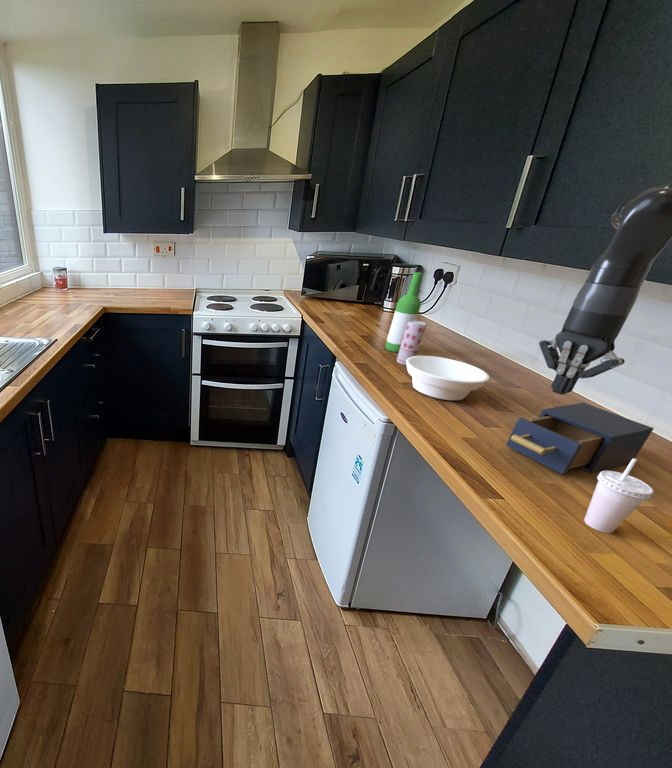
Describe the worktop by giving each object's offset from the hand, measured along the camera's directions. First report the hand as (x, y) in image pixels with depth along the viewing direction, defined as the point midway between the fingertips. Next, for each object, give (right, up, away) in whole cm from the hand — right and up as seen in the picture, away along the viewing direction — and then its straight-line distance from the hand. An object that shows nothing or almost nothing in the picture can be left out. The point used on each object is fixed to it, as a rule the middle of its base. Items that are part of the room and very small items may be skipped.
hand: (559, 392), depth 81 cm
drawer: (+6, -15, +9) cm, 18 cm away
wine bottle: (+12, +15, +77) cm, 80 cm away
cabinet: (+17, -14, +13) cm, 26 cm away
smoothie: (-3, -24, -10) cm, 26 cm away
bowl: (+4, -1, +41) cm, 41 cm away
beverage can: (+8, +9, +65) cm, 66 cm away
